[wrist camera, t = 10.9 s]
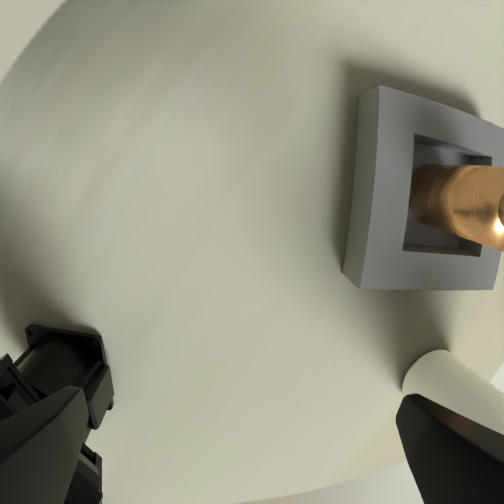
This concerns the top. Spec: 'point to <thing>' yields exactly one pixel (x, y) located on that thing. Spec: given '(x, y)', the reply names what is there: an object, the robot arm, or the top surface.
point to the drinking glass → (456, 388)
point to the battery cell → (460, 201)
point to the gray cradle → (398, 192)
